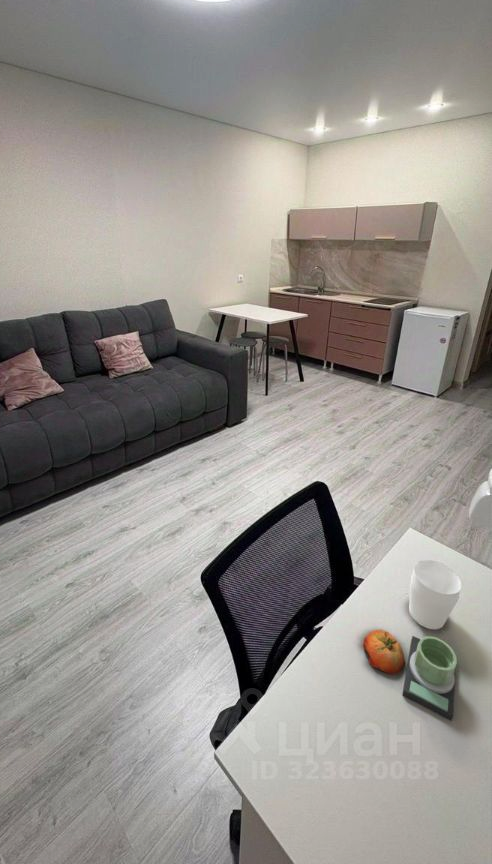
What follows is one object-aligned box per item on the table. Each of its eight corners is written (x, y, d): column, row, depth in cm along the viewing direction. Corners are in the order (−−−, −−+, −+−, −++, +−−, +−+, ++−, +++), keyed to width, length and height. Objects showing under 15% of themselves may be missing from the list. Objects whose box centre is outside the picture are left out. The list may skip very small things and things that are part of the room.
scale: (410, 644, 82) (413, 632, 81) (453, 664, 78) (457, 652, 77) (401, 699, 72) (404, 687, 71) (449, 725, 69) (454, 713, 68)
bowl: (426, 646, 78) (431, 630, 77) (458, 675, 73) (464, 659, 72) (406, 662, 75) (410, 646, 74) (438, 694, 70) (443, 677, 69)
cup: (406, 593, 93) (416, 553, 89) (450, 612, 89) (462, 570, 85) (400, 624, 86) (410, 582, 82) (447, 645, 82) (461, 602, 77)
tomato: (399, 686, 73) (380, 644, 75) (367, 684, 78) (349, 644, 79) (415, 660, 79) (397, 621, 80) (384, 659, 83) (367, 623, 85)
